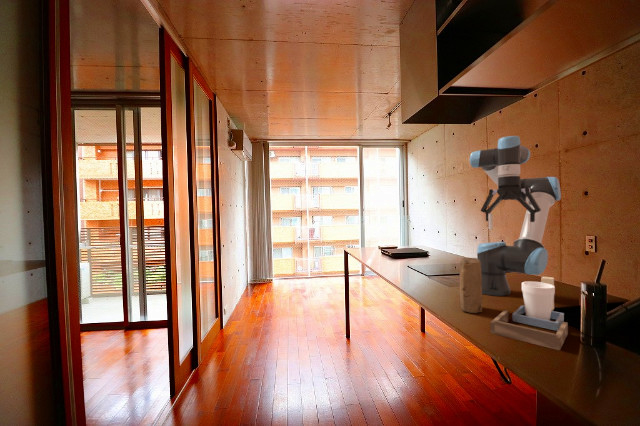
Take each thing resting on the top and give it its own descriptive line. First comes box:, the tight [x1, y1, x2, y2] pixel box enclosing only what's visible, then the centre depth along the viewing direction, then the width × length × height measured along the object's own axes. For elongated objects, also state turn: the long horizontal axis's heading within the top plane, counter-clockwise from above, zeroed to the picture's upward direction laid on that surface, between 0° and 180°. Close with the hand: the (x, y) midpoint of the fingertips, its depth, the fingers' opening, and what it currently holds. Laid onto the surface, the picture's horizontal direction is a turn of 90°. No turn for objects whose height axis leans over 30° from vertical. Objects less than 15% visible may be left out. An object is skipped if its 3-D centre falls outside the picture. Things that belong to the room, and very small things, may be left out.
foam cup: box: [521, 280, 556, 321], centre depth 107 cm, size 10×9×13 cm
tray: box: [511, 276, 565, 332], centre depth 112 cm, size 25×13×12 cm, turn 135°
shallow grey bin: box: [489, 309, 569, 351], centre depth 97 cm, size 16×18×4 cm
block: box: [459, 257, 483, 314], centre depth 121 cm, size 11×8×20 cm
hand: (509, 230), depth 122 cm, fingers open, 13 cm apart
